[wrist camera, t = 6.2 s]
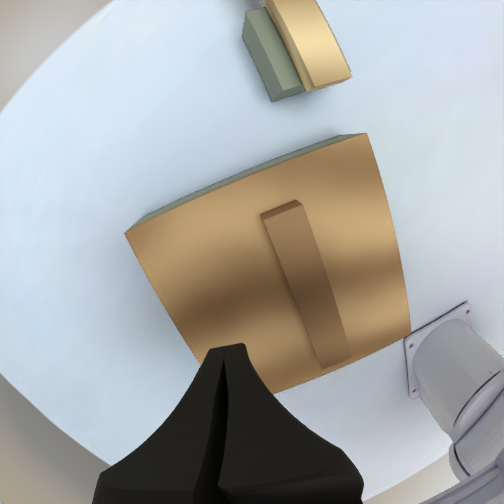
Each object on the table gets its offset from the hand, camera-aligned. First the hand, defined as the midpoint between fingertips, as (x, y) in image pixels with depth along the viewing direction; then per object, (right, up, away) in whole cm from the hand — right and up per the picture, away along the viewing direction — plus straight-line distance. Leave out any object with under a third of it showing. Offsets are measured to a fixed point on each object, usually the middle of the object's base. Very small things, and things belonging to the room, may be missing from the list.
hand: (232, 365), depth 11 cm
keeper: (+3, +17, +6) cm, 18 cm away
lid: (+3, +2, +7) cm, 8 cm away
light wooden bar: (+2, +17, +1) cm, 17 cm away
